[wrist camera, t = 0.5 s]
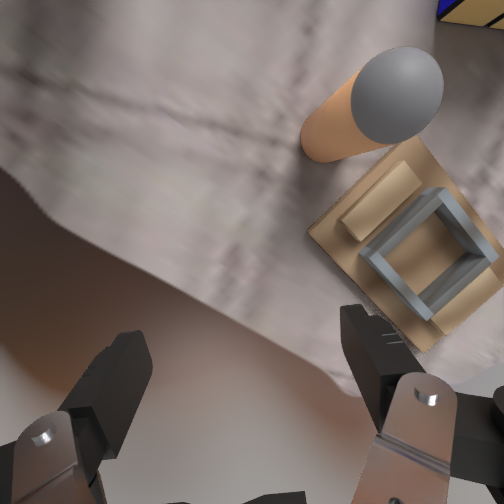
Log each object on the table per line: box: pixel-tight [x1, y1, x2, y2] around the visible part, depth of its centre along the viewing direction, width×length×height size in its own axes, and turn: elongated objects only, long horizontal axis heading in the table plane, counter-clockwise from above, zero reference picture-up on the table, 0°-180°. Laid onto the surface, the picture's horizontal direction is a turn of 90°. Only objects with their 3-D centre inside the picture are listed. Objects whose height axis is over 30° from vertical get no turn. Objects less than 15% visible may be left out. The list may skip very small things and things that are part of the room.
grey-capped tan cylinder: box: [300, 47, 444, 163], centre depth 21 cm, size 5×5×14 cm
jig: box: [306, 134, 504, 354], centre depth 30 cm, size 20×14×4 cm
